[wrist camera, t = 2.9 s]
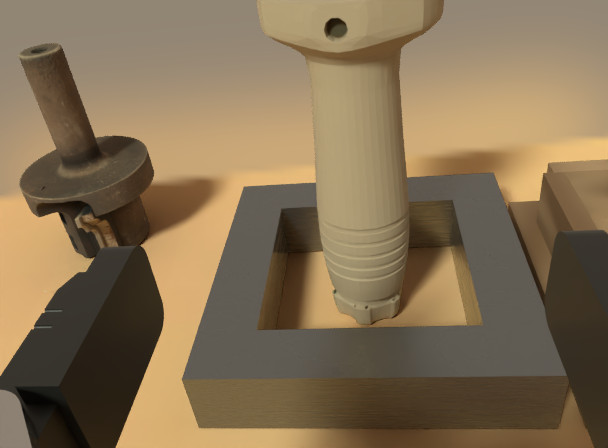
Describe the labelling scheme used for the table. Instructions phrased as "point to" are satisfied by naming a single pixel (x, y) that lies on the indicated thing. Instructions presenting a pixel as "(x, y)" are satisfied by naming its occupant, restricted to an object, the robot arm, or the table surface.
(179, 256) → the table surface
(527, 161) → the table surface
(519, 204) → the tray
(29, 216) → the table surface
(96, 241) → the industrial component
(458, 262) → the socket block
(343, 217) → the handle
